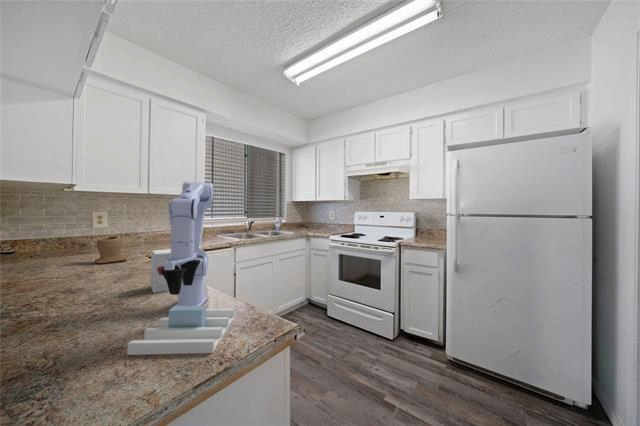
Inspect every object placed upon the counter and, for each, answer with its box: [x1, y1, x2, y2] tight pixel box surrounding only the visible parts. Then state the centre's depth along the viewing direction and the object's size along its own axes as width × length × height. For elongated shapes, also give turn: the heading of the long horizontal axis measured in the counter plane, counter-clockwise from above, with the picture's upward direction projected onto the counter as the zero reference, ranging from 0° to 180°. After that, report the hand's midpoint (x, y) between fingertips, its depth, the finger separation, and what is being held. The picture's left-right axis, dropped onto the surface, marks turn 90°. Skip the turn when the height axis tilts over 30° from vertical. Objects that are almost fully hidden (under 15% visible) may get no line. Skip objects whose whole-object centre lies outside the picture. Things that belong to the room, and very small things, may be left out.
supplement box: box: [150, 248, 171, 294], centre depth 96 cm, size 9×9×15 cm
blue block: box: [168, 305, 207, 328], centre depth 63 cm, size 3×8×6 cm, turn 95°
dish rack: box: [126, 308, 236, 356], centre depth 63 cm, size 18×18×2 cm
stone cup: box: [93, 235, 129, 264], centre depth 138 cm, size 15×12×15 cm
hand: (181, 289), depth 68 cm, fingers open, 7 cm apart
